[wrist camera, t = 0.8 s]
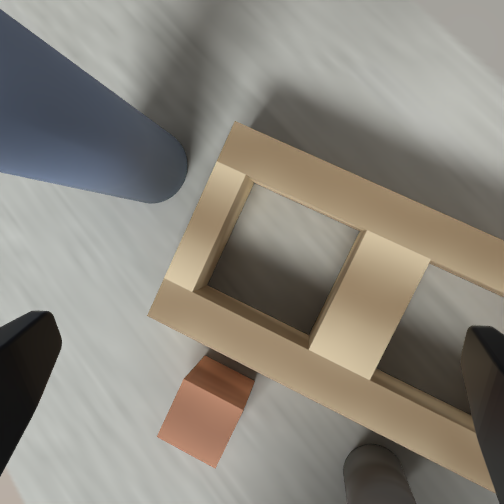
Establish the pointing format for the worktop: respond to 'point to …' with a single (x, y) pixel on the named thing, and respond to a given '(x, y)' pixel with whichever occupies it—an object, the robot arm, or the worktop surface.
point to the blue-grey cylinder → (77, 126)
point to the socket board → (322, 317)
